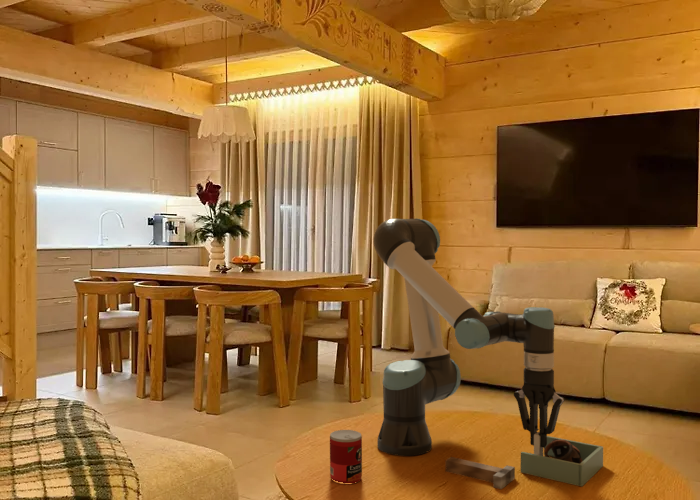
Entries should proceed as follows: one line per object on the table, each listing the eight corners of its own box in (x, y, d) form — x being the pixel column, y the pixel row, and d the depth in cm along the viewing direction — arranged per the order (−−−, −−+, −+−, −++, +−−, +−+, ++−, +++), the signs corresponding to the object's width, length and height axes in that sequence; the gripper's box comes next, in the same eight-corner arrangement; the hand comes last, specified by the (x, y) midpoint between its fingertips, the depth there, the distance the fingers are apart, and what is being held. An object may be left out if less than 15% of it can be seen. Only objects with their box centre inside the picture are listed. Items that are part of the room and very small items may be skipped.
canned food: (351, 487, 154) (351, 441, 153) (323, 480, 158) (323, 436, 157) (368, 476, 160) (367, 432, 160) (340, 470, 164) (340, 427, 164)
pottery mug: (593, 476, 161) (582, 451, 158) (559, 492, 161) (547, 467, 159) (572, 448, 172) (562, 424, 170) (540, 463, 173) (529, 440, 170)
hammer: (440, 475, 161) (440, 463, 161) (455, 465, 168) (455, 454, 168) (501, 490, 152) (501, 477, 152) (514, 479, 158) (514, 467, 158)
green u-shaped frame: (520, 472, 162) (520, 452, 162) (545, 453, 175) (545, 435, 175) (582, 486, 153) (582, 465, 153) (603, 465, 166) (603, 446, 166)
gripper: (508, 367, 168) (508, 457, 169) (558, 373, 160) (558, 468, 161) (520, 362, 174) (520, 449, 175) (568, 368, 166) (568, 459, 167)
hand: (538, 458), depth 168 cm, fingers closed
